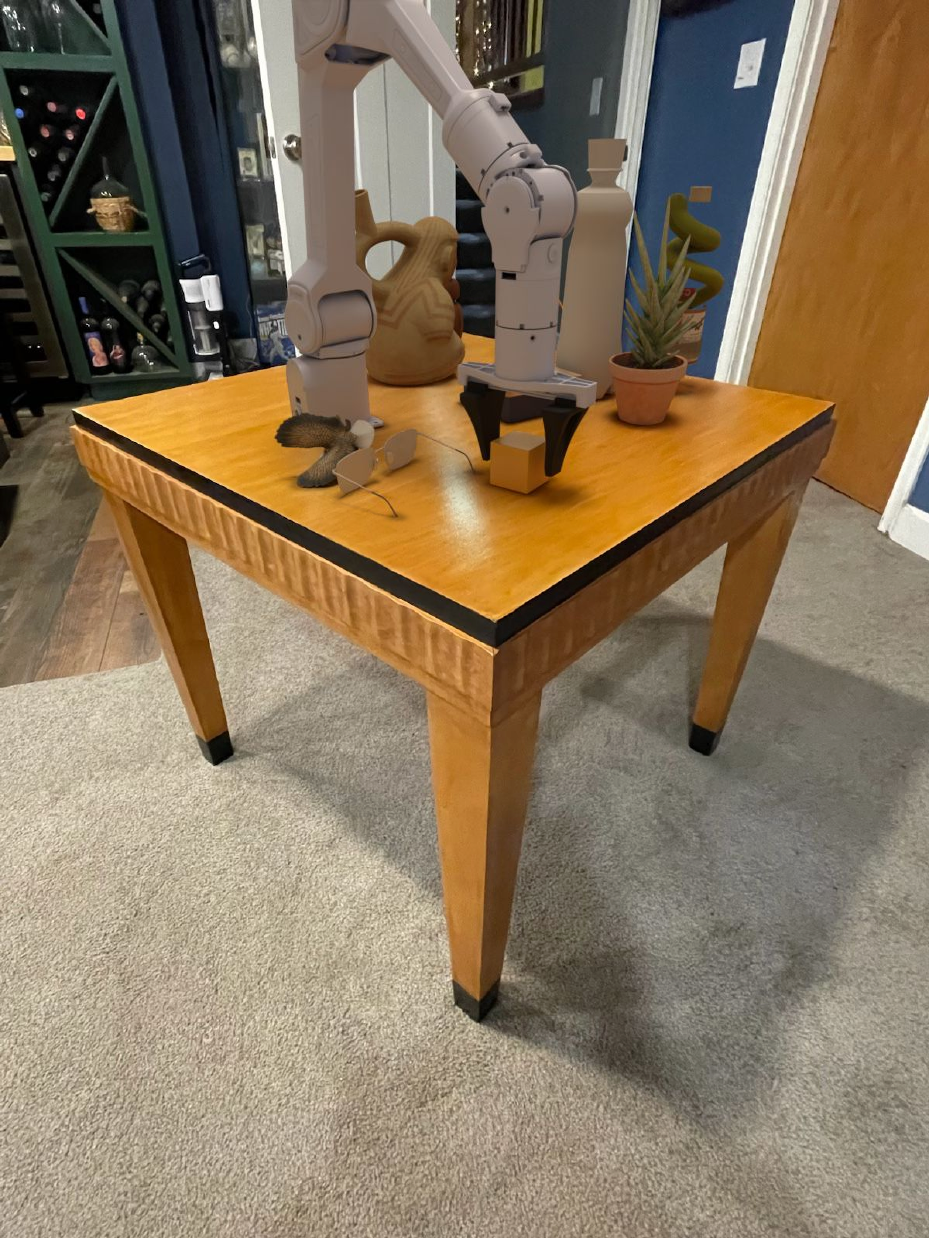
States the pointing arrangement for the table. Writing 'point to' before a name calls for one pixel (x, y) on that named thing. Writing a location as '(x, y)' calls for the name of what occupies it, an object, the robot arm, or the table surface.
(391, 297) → the ceramic vessel
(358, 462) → the eyeglasses
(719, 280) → the snake in a can
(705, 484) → the table surface
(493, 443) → the block
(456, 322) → the wooden figurine
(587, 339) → the bottle
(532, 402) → the box
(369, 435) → the eagle figurine
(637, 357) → the potted plant
